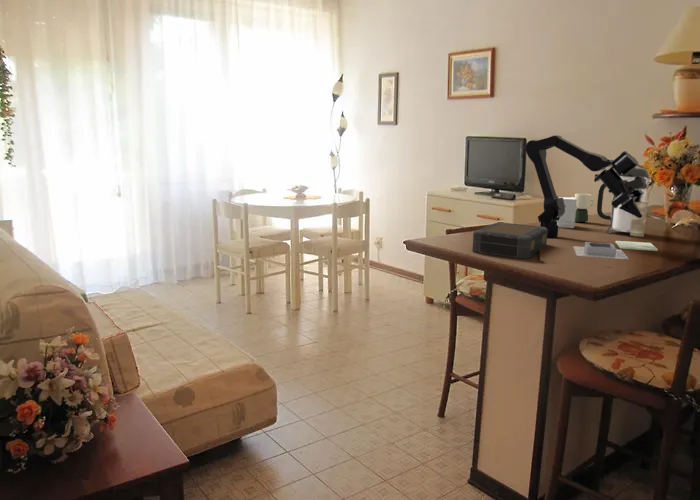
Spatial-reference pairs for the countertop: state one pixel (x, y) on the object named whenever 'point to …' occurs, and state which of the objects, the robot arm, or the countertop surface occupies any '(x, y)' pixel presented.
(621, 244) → the green pad
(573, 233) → the countertop surface
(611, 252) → the grey square socket base
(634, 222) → the ash peg
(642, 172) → the coffee press
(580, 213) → the character mug
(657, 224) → the countertop surface
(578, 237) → the countertop surface
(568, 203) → the supplement box
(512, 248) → the cash box
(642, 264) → the countertop surface
